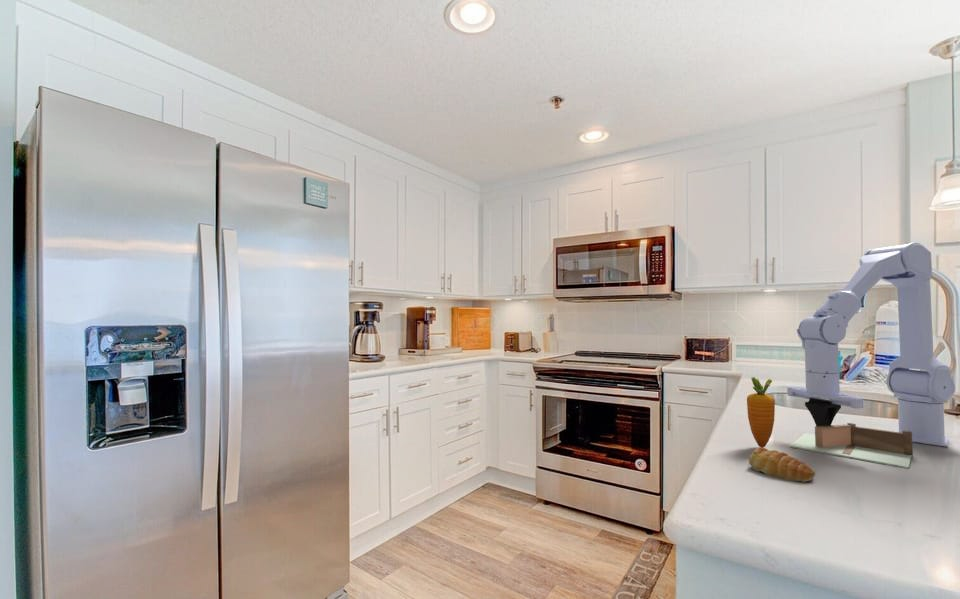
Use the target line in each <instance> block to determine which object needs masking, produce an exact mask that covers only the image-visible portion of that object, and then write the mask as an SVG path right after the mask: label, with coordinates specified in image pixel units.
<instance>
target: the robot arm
mask: <svg viewBox="0 0 960 599" xmlns="http://www.w3.org/2000/svg"><path fill="white" fill-rule="evenodd" d="M859 265H860V266H859V268H858V269H857V270H856V272H855V273H854V275H852V277H851V279H850V280H849V281H848V283H847V284H846V286H845V287H844V288H843V290H837V291H836V290H835V291H833V292H830V293H829V294H828V295H827V299H826V300H825V301H824V302H823V303H822V305H821V306H820V307H819V308H818V309H816V311H815V312H814V314H813V315H812V316H807V317H805V318H804V319H802V321H800V322H799V325H798V328H796V333H797V335H798V337H799V339H800V340H801V347H802V348H803V350H804V362H805V365H804V367H805V368H804V369H805V387H797V386H788V387H787V396H788V397H796V398H801V399H808V401H805V402H804V406H805V407H806V409H807V410H808V412H809V413H810V415H811V417H812V419H813V421H814V424H815V426H828V425H833V424H832V423H833V421H834V418H835V417H836V415H837V414H838V412H839V411H840V410H841V408H842V406H843V407H844V406H845V407H849V408H852V409H864V398H862V397H856V396H851V395H848V394H844V393H840V366H839V365H840V361H839V360H840V359H839V358H840V357H839V343H840V342H841V341H843V340H844V339H845V337H846V334H847V327H849V322H850V321H851V319H852V318H853V317H854V316H856V314H857V312H859V310H860V309H862V306H863V305H862V300H861V299H862V297H864V296H865V295H866V294H867V293H868V292H869V291H870V290H871V289H872V288H873V287H874V286H875V285H876V284H878V282H879V281H880V280H882V281H884V282H887V283H890V284H892V285H893V286H894V287H895V288H896V289H897V305H898V306H897V307H898V308H897V310H898V332H899V335H898V336H899V354H900V355H899V356H898V357H897V358H895V359H893V360H891V361H890V363H889V369H888V370H889V371H888V374H887V376H886V380H885V382H886V386H887V389H888V390H889V391H890V392H891V393H892V394H893V398H896V399H897V415H898V416H897V418H898V430H897V432H900V433H902V431H911V432H912V443H918V444H919V443H920V444H926V445H933V446H939V447H940V446H941V447H948V446H949V445H948V443H949V442H948V436H947V435H945V415H944V413H945V412H944V411H945V410H944V403H945V404H946V403H947V404H948V401H949V400H950V399H951V398H952V397H953V396H954V395H955V391H956V384H955V381H954V379H953V377H952V375H951V367H950V366H948V365H947V364H946V363H944V362H942V361H941V360H939V359H938V358H936V357H934V341H933V333H934V332H933V320H932V319H933V315H932V314H933V313H932V311H933V310H932V297H931V296H932V294H931V293H932V292H931V280H932V279H933V267H932V266H933V264H932V252H931V251H930V250H929V249H928V248H926V247H925V246H924V245H923V244H921V243H920V242H909V243H906V244H900V245H899V244H898V245H894V246H887V247H880V248H878V247H877V248H869V249H867V250H866V251H865V252H864V254H863V255H862V256H861V257H860V258H859Z"/></svg>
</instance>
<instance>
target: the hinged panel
mask: <svg viewBox="0 0 960 599" xmlns="http://www.w3.org/2000/svg"><path fill="white" fill-rule="evenodd" d="M814 435H815V446H817V447H828V446H840V445H851V426H850V425H847V423H845V424H831V425H828V426H816V425H815V426H814Z"/></svg>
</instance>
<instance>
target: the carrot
mask: <svg viewBox="0 0 960 599" xmlns="http://www.w3.org/2000/svg"><path fill="white" fill-rule="evenodd" d="M750 379H751V382H752V384H753V386H752V389H753V390H754V391H755V393H754V392H753V393H751V394H749V395H748V396H747V398H746V408H747V418H748V419H747V420H748V424H749V427H750V431H751V433H752V434H751V435H752V437H753V438H754V441H755V443H757V445H758V447H763V448H766V446H767V445H768V443H769V441H770V439H771V436H772V434H773V430H774V426H775V425H774V423H775V410H776V409H775V405H776V404H775V403H776V402H775V398H774V397H773V396H772V395H769V394H767V393H766V392H767V390H768V389H769V387H770V386H771V383H772V382H773V380H772V379H770V378H769V379H767V380H766V382H765V383H764V386H763V385H762V384H761V381H760V380H759V378H756V377H755V376H752V377H751V378H750Z"/></svg>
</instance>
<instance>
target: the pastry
mask: <svg viewBox="0 0 960 599" xmlns="http://www.w3.org/2000/svg"><path fill="white" fill-rule="evenodd" d="M748 464H749V465H750V467H751V468H753V470H755V471H756V472H762V473H763V474H764V475H768V476H771V477H776V478H779V479H784V480H787V481H792V482H797V481H798V482H802V483H805V482H809V481H812V480H814V478H815V474H816V473H815V471H814V470H813V469H812V468H811V466H809V465H807V464H806V463H805V462H803V461H801V460H799V458H796V457H792V456H790V455H789V454H788V453H786V452H781V451H778V450H775V449H773V450H769V449H768V448H766V447H764V448H763V447H760V446H758V447H756V448H755V449H754V450H753V451H752V452H751V455H750V457H749V463H748Z"/></svg>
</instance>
